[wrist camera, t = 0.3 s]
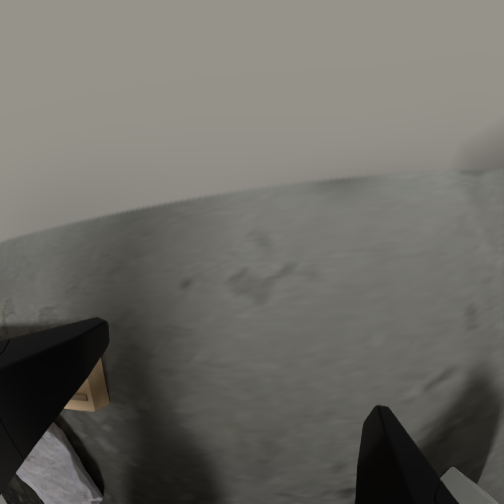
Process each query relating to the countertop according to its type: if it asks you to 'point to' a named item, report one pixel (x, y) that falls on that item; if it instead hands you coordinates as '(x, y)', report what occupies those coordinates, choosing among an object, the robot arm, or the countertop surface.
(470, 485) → the skincare box
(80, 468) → the stone block
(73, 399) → the wooden grooved rail
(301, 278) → the countertop surface
